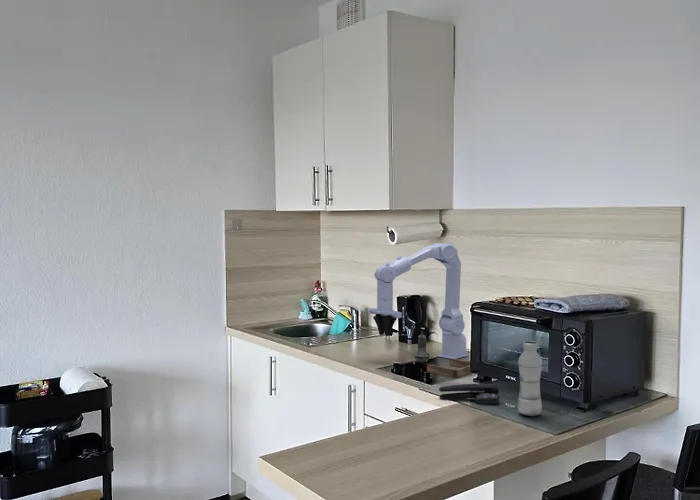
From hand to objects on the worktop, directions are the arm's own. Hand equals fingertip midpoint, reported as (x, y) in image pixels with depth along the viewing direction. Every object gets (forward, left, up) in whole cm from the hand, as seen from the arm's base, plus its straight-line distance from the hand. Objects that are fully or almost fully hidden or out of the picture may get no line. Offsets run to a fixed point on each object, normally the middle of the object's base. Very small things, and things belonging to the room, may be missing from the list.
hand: (384, 335), depth 231 cm
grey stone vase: (-8, +11, -11) cm, 17 cm away
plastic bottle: (+16, +68, -11) cm, 71 cm away
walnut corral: (-8, +25, -10) cm, 28 cm away
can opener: (+17, +49, -11) cm, 53 cm away
